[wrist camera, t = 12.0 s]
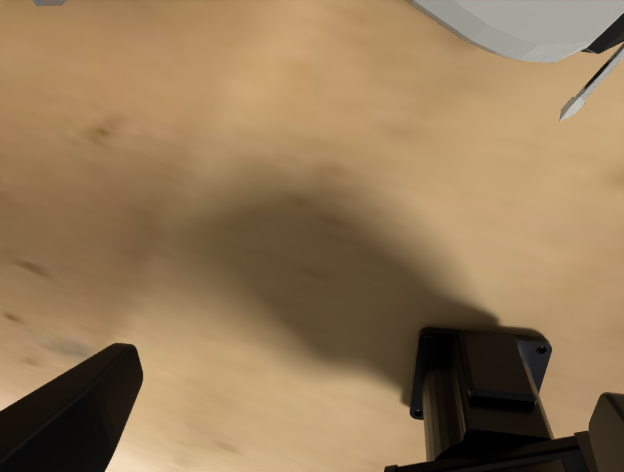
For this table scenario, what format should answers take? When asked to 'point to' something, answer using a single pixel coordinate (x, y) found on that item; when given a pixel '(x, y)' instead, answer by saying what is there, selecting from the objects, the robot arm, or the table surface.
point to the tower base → (49, 2)
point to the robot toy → (536, 30)
